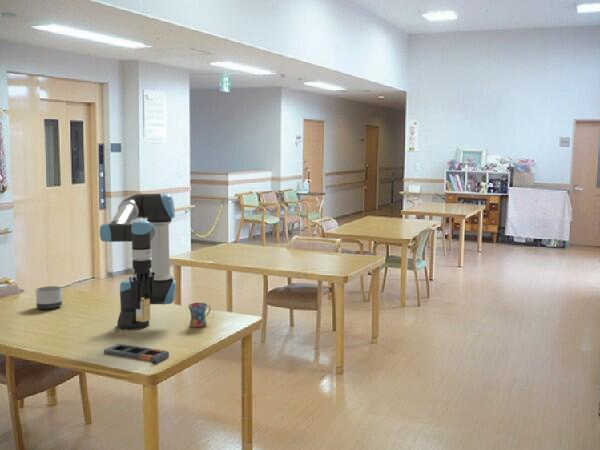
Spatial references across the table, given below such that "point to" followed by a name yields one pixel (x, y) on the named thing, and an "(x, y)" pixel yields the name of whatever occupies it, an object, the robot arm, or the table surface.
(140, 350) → the rail
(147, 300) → the tan rectangular block
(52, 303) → the planter
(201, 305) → the mug
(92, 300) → the table surface
